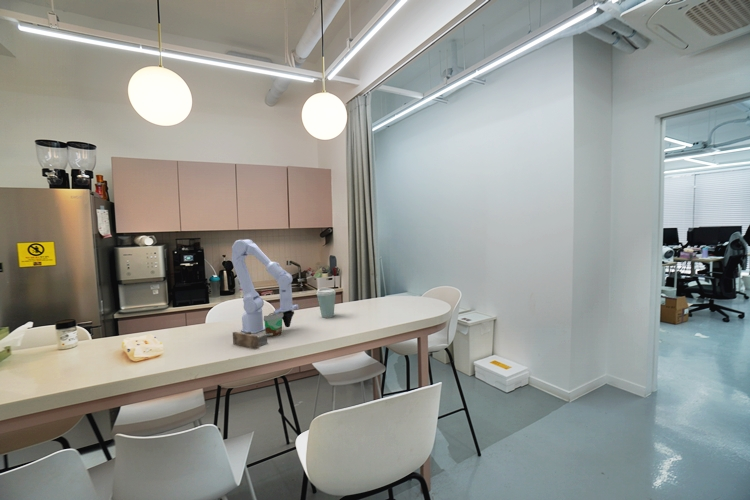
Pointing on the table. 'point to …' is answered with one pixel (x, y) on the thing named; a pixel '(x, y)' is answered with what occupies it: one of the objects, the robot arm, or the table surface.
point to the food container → (273, 324)
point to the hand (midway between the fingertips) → (287, 326)
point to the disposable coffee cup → (326, 301)
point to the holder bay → (249, 340)
